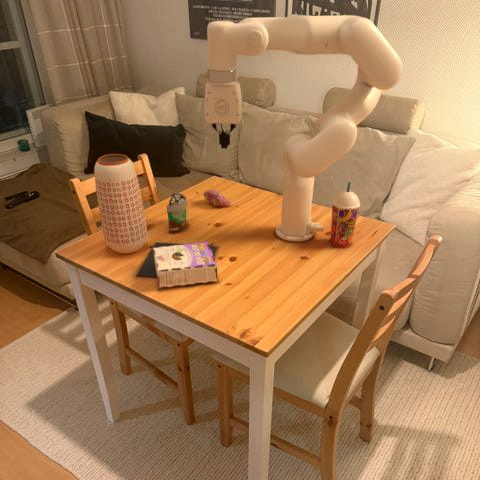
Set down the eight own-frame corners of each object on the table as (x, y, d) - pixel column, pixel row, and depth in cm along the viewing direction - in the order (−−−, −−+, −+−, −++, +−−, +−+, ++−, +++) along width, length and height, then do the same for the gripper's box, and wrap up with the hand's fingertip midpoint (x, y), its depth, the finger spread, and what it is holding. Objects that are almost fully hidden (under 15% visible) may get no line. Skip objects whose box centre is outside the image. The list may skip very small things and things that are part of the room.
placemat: (217, 247, 144) (217, 246, 144) (204, 281, 128) (204, 279, 128) (156, 243, 146) (156, 242, 146) (136, 276, 130) (136, 275, 130)
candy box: (209, 258, 138) (154, 264, 135) (208, 240, 134) (152, 246, 131) (217, 282, 127) (158, 289, 124) (217, 264, 124) (156, 271, 121)
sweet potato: (206, 205, 174) (199, 192, 168) (213, 197, 175) (207, 183, 169) (224, 212, 168) (218, 199, 163) (232, 204, 169) (226, 190, 164)
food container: (187, 234, 151) (185, 206, 145) (169, 234, 151) (166, 206, 145) (191, 218, 161) (189, 191, 155) (174, 218, 161) (171, 191, 155)
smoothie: (348, 251, 141) (357, 189, 129) (323, 245, 145) (330, 184, 133) (357, 241, 147) (367, 180, 135) (333, 234, 151) (341, 175, 138)
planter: (129, 234, 151) (114, 148, 134) (158, 245, 145) (146, 156, 128) (97, 250, 143) (78, 160, 125) (127, 262, 136) (110, 169, 119)
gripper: (192, 78, 118) (196, 150, 129) (249, 80, 117) (248, 152, 128) (198, 73, 124) (202, 142, 135) (252, 74, 122) (251, 144, 134)
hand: (224, 147), depth 131 cm, fingers closed
